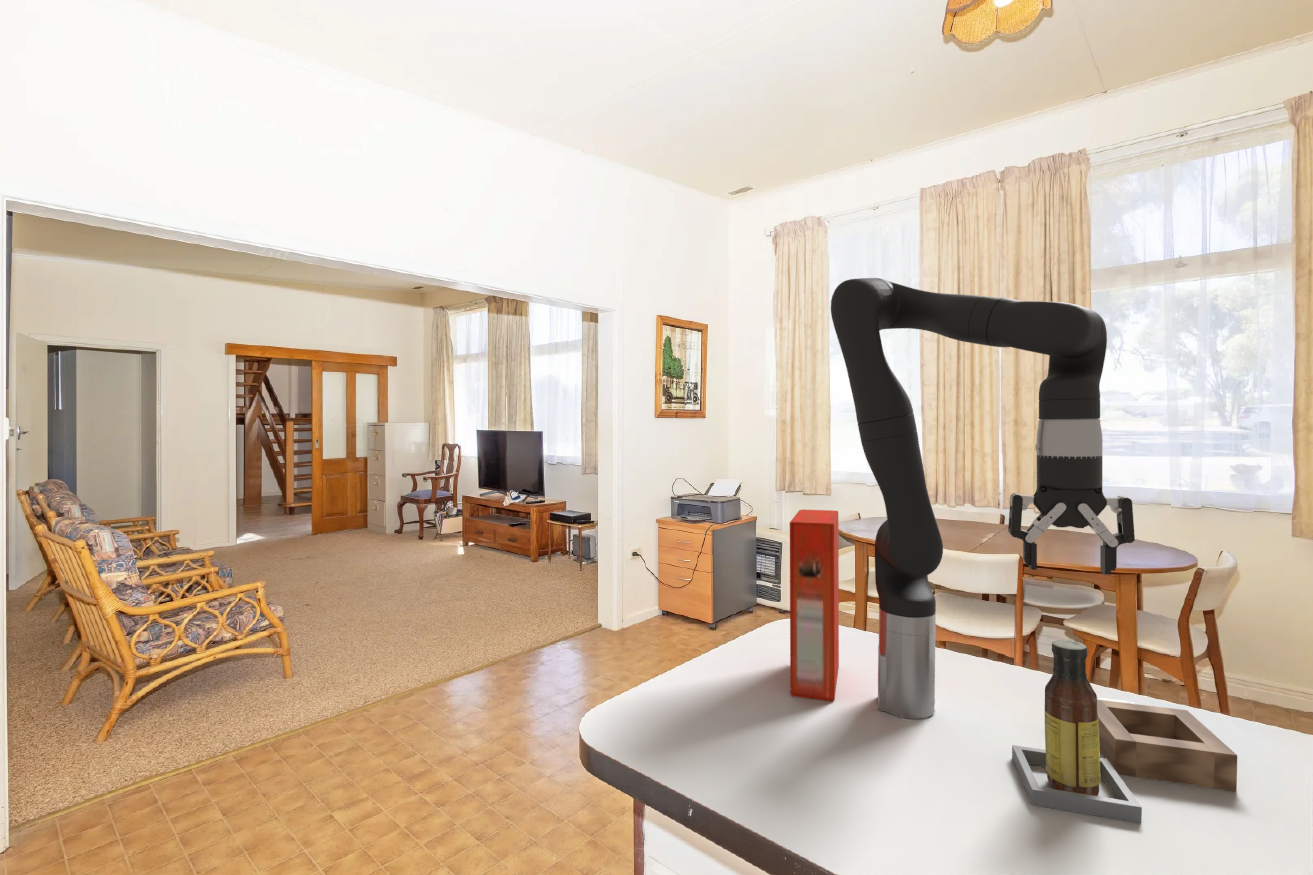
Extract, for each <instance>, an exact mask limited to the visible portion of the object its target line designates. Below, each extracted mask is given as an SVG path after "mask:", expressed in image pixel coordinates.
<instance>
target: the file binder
mask: <svg viewBox="0 0 1313 875" xmlns="http://www.w3.org/2000/svg"><path fill="white" fill-rule="evenodd" d="M839 554H840V553H839V511H838V510H831V509H830V510H826V509H799V510H798V511H797V512H796V513H795V515H794V516H793V518H791V520H790V521H789V633H790V634H789V640H790V641H789V644H790V645H789V647H790V648H789V651H790V652H789V653H790V654H789V655H790V656H789V657H790V658H789V660H790V663H789V664H790V667H789V669H790V670H789V671H790V672H789V673H790V675H789V676H790V686H789V687H790V690H789V691H790V695H791V697H795V696H796V698H803V697H804V698H805V699H811V698H816V699H815V700H819V699H822V700H821V701H827V702H828V701H829V702H832V701H835V698H836V691H837V682H838V674H839V668H840V667H839V666H840V650H839V648H840V647H839V645H840V644H839V643H840V642H839V641H840V635H839V634H840V633H839V632H840V631H839V630H840V628H839V626H840V625H839V624H840V623H839V622H840V621H839V619H840V618H839V613H840V610H839V608H840V607H839V605H840V603H839V602H840V599H839V598H840V597H839V594H840V593H839V590H840V588H839V586H840V585H839V584H840V583H839V582H840V581H839V580H840V577H839V570H840V568H839V564H840V563H839V557H840V556H839Z"/></svg>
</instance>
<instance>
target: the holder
mask: <svg viewBox="0 0 1313 875" xmlns="http://www.w3.org/2000/svg"><path fill="white" fill-rule="evenodd" d="M1097 713H1098V717H1099V743H1100V756H1102V758H1107V759H1108V761H1109V762H1110V764H1111V765H1112V766H1113V768H1114V769H1115V771H1116V772H1117V773H1118V775H1121V776H1122V775H1123V776H1128V777H1135V778H1136V777H1137V778H1142V779H1148V780H1156V781H1162V782H1163V781H1164V782H1170V783H1175V784H1184V785H1190V786H1196V787H1202V788H1203V787H1204V788H1209V789H1217V790H1223V791H1230V792H1235V793H1236V792H1237V791H1238V790H1237V787H1238V786H1237V785H1238V784H1237V781H1238V780H1237V778H1238V754H1237V753H1236V752H1234V751H1233V750H1232V749H1231V748H1230V747H1229V746H1228V745H1227V744H1225V743H1224V742H1223V741H1222V740H1221V739H1220V738H1219V737H1218V736H1216V735H1215V734H1214V732H1212V731H1211V730H1210V729H1209V728H1208V727H1206V725H1204V724H1203V723H1202V722H1201V721H1200V720H1199V719H1198V718H1196V717H1195V715H1193V714H1192V713H1191V712H1190V711H1189V710H1187V709H1180V708H1171V707H1164V706H1162V707H1161V706H1154V705H1145V704H1138V703H1136V704H1130V703H1122V702H1113V701H1105V700H1097Z"/></svg>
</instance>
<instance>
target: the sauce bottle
mask: <svg viewBox="0 0 1313 875" xmlns="http://www.w3.org/2000/svg"><path fill="white" fill-rule="evenodd" d="M1051 652H1052V656H1053V668H1052V672H1053V673H1052V675H1051V677H1050V679H1049V680H1048V682H1047V683H1046V685H1045V687H1044V743H1045V746H1044V747H1045V750H1046V766H1045V769H1046V774H1047V775H1046V776H1047V781H1048V782H1049V784H1050V786H1051V787H1053V789H1056V790H1062V791H1068V792H1074V793H1081V794H1087V795H1093V796H1099V793H1100V783H1101V775H1100V758H1101V753H1100V743H1099V717H1098V713H1097V697H1098V695H1097V693H1096V692H1095V690H1094V688H1093V687H1092V685H1091V683H1090V681H1089V679H1088V675H1087V674H1088V673H1087V657H1088V656H1089V655H1088V648H1087V646H1086V645H1085V644H1084V643H1081V642H1078V641H1075V640H1070V639H1056V640H1053V641H1052V642H1051Z"/></svg>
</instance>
